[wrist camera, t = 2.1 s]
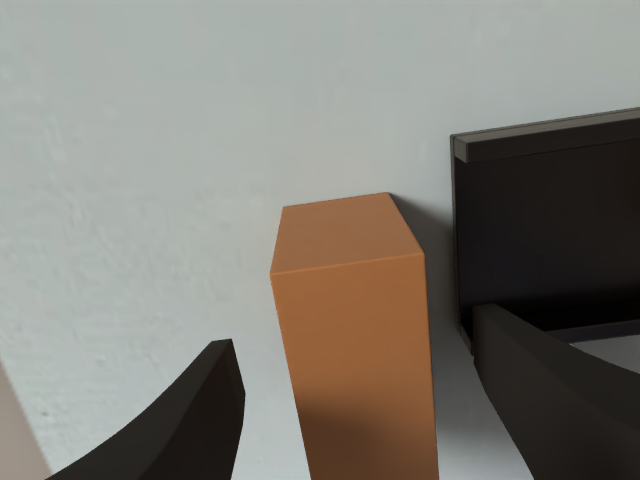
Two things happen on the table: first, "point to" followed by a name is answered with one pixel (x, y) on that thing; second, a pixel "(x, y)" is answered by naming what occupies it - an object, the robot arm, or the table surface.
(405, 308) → the orange rectangular block
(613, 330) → the rail
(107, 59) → the table surface
